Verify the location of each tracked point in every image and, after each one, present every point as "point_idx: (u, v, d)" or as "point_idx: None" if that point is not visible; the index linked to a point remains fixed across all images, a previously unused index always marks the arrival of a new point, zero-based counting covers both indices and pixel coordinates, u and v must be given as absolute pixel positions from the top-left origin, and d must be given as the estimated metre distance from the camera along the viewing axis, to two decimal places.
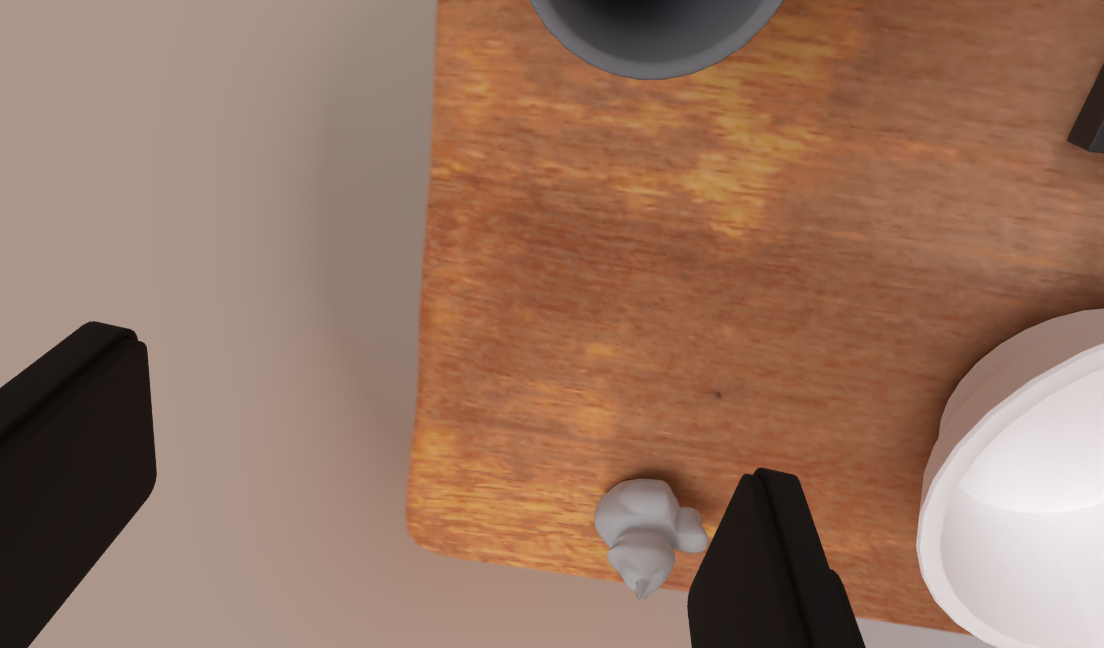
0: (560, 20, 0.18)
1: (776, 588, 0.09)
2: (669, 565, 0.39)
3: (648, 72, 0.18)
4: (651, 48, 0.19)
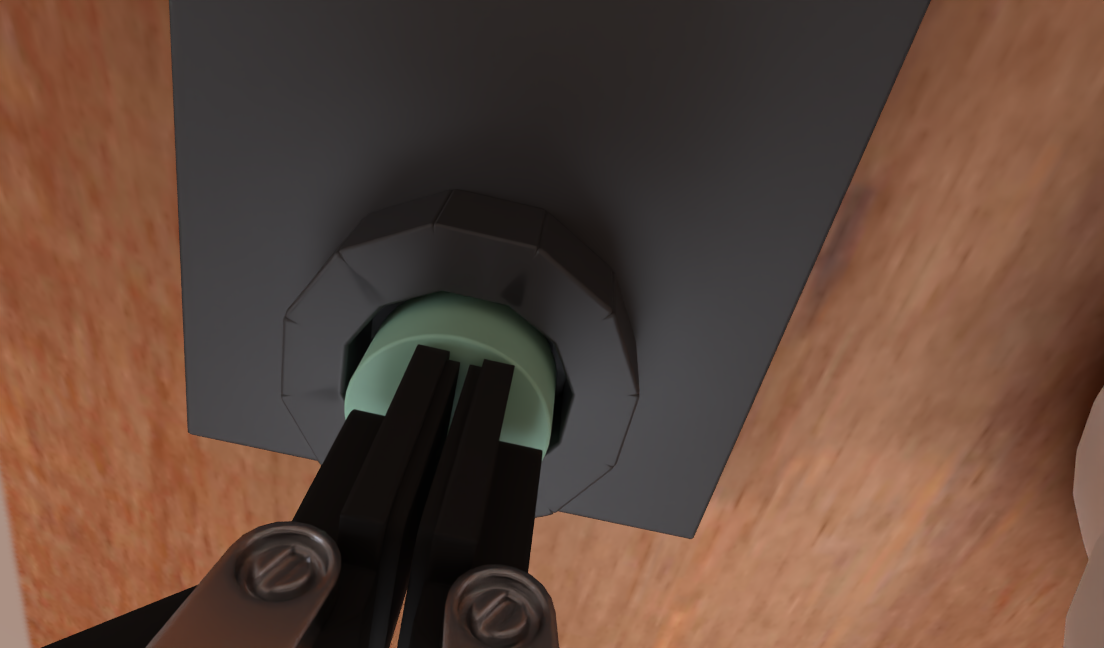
0: None
1: (445, 448, 0.10)
2: None
3: None
4: None
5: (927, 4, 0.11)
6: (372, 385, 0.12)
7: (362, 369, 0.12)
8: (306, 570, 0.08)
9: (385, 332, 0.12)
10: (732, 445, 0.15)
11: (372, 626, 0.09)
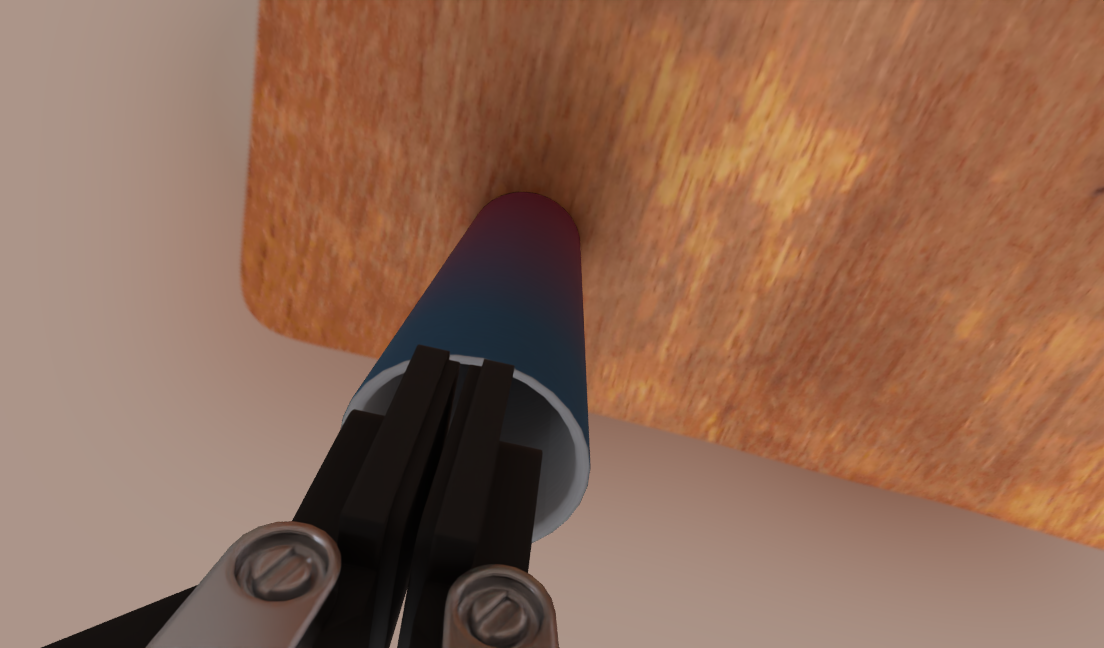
0: None
1: (445, 447, 0.10)
2: None
3: (581, 479, 0.19)
4: None
5: None
6: None
7: None
8: (307, 570, 0.08)
9: None
10: None
11: (372, 626, 0.09)
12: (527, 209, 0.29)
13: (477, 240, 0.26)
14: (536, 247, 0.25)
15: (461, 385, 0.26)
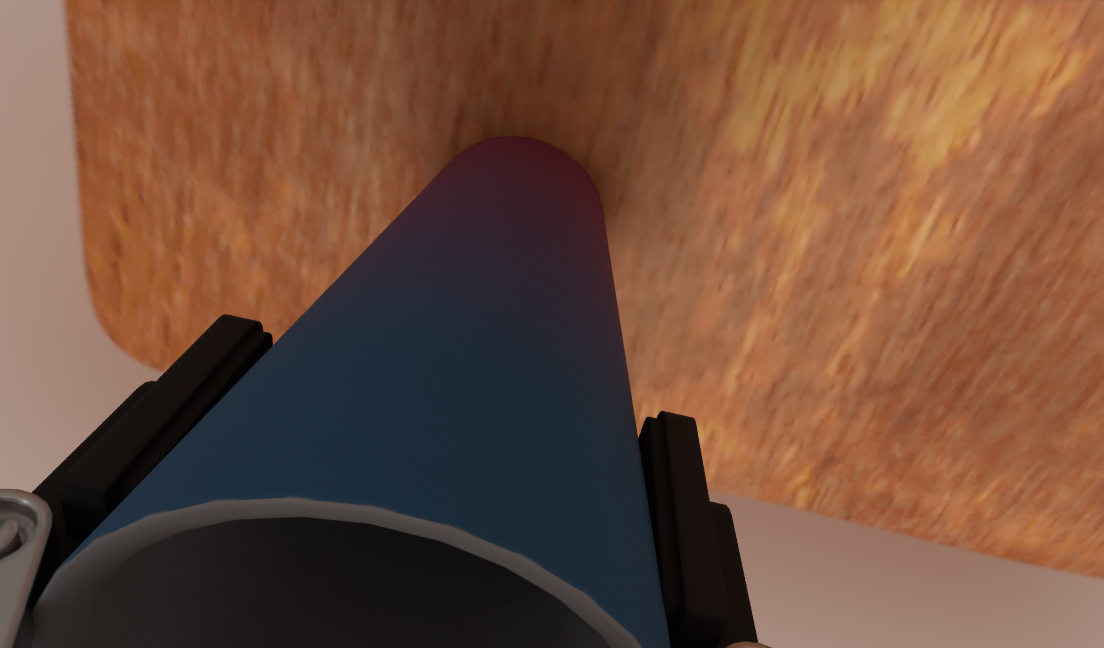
0: None
1: (656, 511, 0.09)
2: None
3: None
4: None
5: None
6: None
7: None
8: (7, 538, 0.07)
9: None
10: None
11: None
12: (516, 157, 0.17)
13: (424, 205, 0.14)
14: (532, 214, 0.14)
15: None
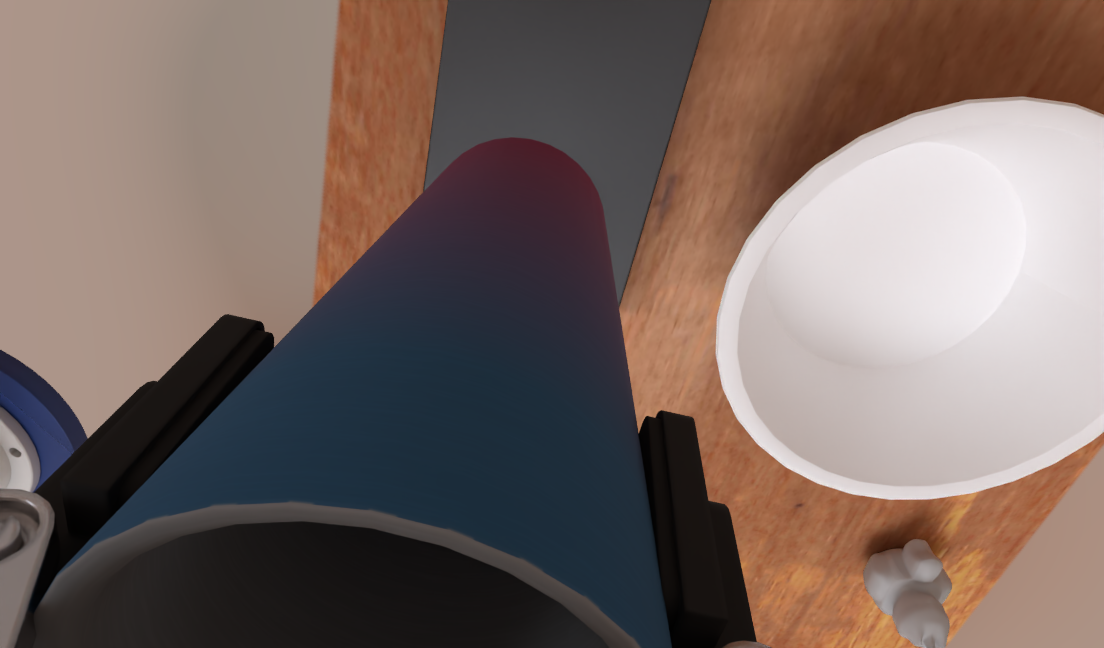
0: None
1: (655, 510, 0.09)
2: (925, 613, 0.46)
3: None
4: None
5: (676, 116, 0.36)
6: None
7: None
8: (9, 538, 0.07)
9: None
10: (627, 275, 0.40)
11: None
12: (517, 159, 0.17)
13: (425, 207, 0.14)
14: (533, 216, 0.14)
15: None
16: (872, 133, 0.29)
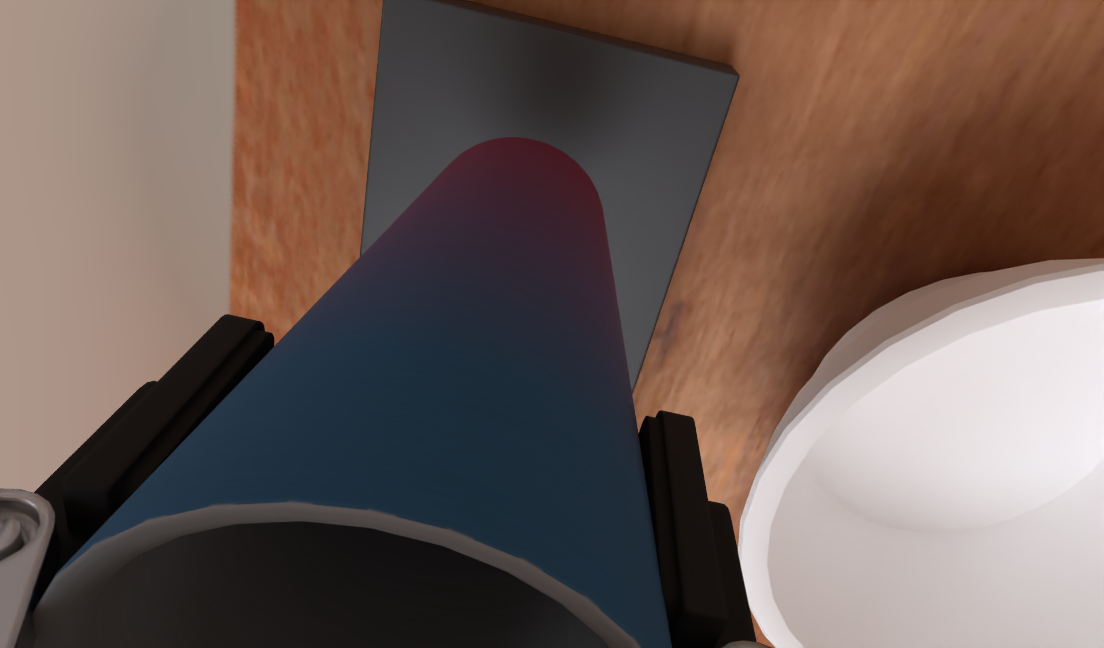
0: None
1: (655, 511, 0.09)
2: None
3: None
4: None
5: (684, 239, 0.27)
6: None
7: None
8: (9, 538, 0.07)
9: None
10: None
11: None
12: (517, 158, 0.17)
13: (424, 207, 0.14)
14: (533, 215, 0.14)
15: None
16: (970, 303, 0.20)
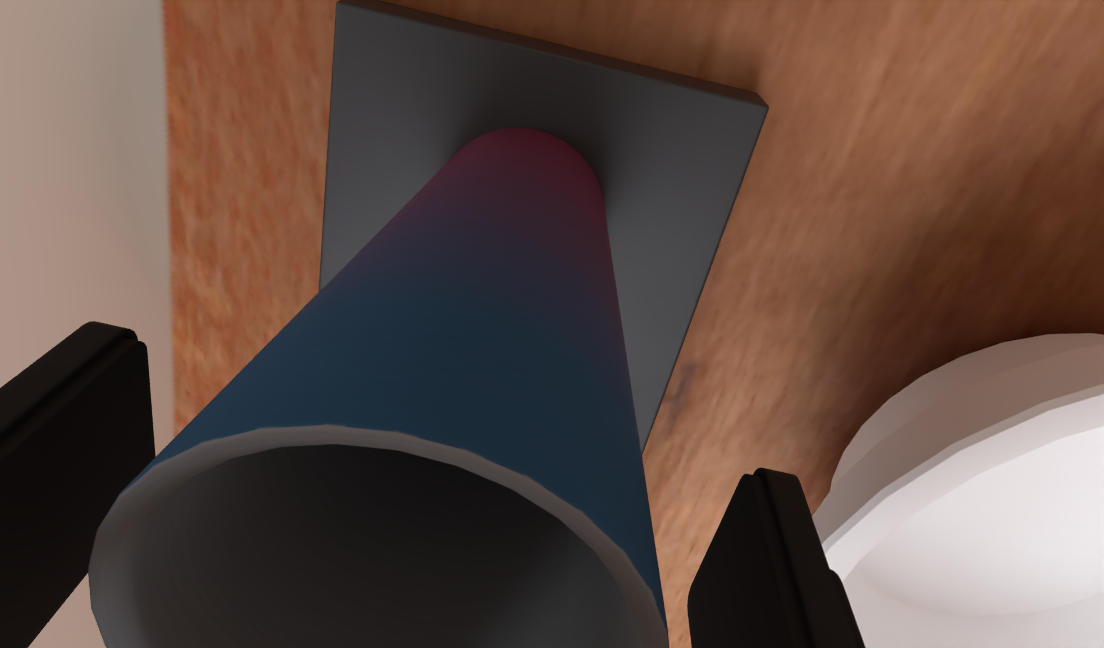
0: None
1: (776, 588, 0.09)
2: None
3: None
4: None
5: (699, 296, 0.23)
6: None
7: None
8: None
9: None
10: None
11: None
12: (521, 147, 0.18)
13: (434, 190, 0.15)
14: (536, 198, 0.15)
15: None
16: (1066, 401, 0.16)
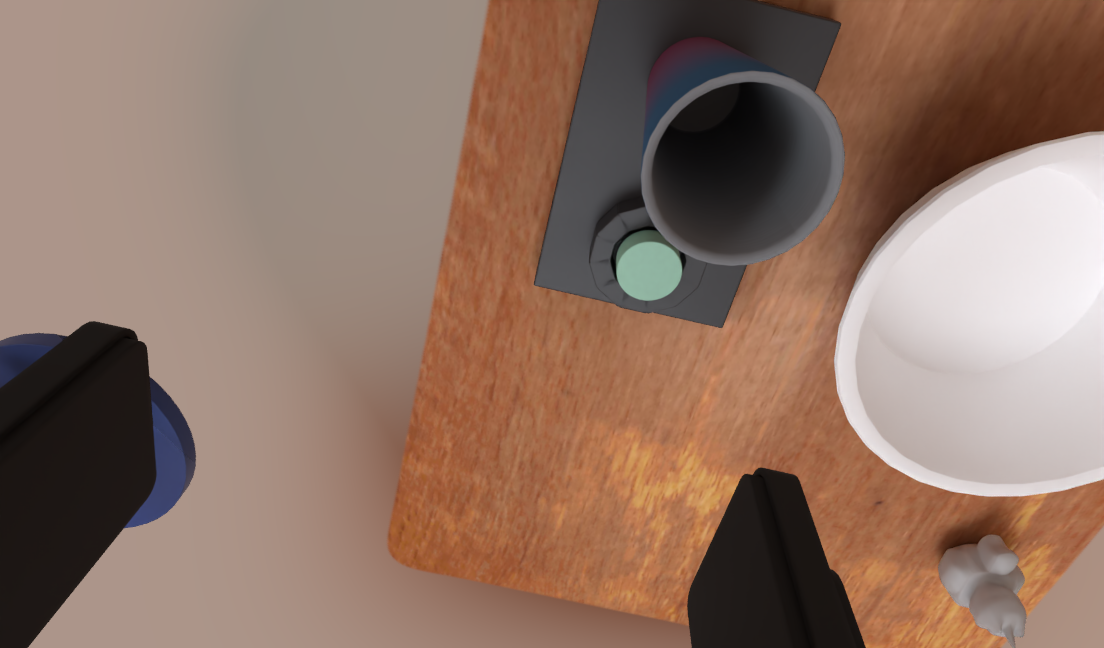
0: (783, 241, 0.26)
1: (776, 588, 0.09)
2: (1004, 604, 0.48)
3: (834, 186, 0.24)
4: (814, 165, 0.26)
5: None
6: (628, 258, 0.39)
7: (626, 252, 0.39)
8: None
9: (630, 242, 0.39)
10: (737, 287, 0.43)
11: None
12: (713, 41, 0.34)
13: (690, 51, 0.31)
14: (742, 53, 0.30)
15: (676, 176, 0.31)
16: (998, 161, 0.32)
